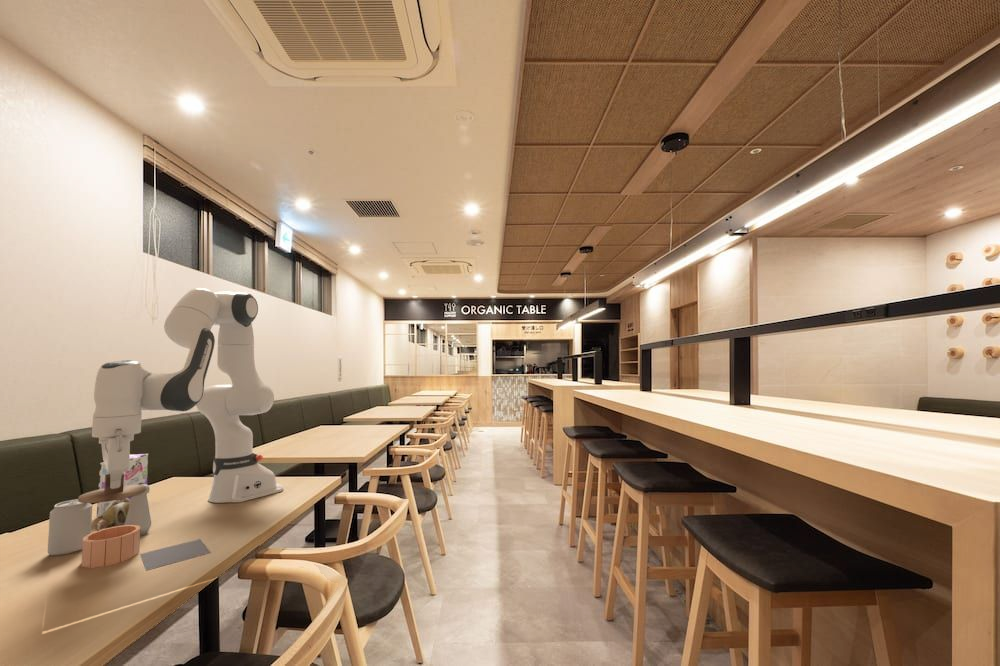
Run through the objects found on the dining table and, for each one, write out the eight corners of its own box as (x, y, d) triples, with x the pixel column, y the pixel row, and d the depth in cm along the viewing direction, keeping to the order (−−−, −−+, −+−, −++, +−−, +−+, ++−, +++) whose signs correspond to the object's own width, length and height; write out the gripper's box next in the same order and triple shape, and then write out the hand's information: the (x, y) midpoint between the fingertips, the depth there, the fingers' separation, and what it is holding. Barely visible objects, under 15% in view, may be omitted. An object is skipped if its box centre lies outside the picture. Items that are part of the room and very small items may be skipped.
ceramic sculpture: (142, 486, 130) (149, 499, 120) (141, 515, 130) (147, 530, 120) (94, 495, 123) (97, 510, 112) (93, 525, 123) (95, 543, 112)
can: (40, 560, 100) (43, 508, 101) (57, 548, 107) (60, 499, 108) (81, 554, 103) (84, 503, 104) (96, 542, 110) (98, 495, 111)
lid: (143, 485, 110) (144, 466, 110) (149, 494, 101) (150, 473, 102) (78, 495, 101) (79, 475, 102) (78, 506, 93) (79, 484, 93)
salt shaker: (134, 539, 112) (136, 489, 113) (117, 538, 113) (119, 488, 114) (156, 530, 117) (158, 483, 118) (139, 529, 119) (142, 482, 120)
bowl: (136, 546, 107) (137, 521, 108) (141, 558, 100) (142, 532, 101) (81, 559, 100) (82, 533, 101) (81, 573, 93) (83, 545, 94)
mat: (200, 540, 110) (200, 538, 110) (210, 554, 102) (210, 552, 102) (140, 555, 102) (140, 554, 102) (146, 572, 93) (146, 570, 93)
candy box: (117, 516, 130) (120, 461, 131) (95, 518, 129) (98, 462, 130) (147, 502, 143) (149, 452, 145) (127, 503, 143) (130, 453, 144)
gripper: (139, 429, 98) (136, 491, 97) (130, 422, 112) (127, 476, 111) (101, 433, 93) (98, 497, 92) (97, 425, 107) (94, 481, 106)
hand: (114, 486), depth 102 cm, fingers closed on lid, 3 cm apart
